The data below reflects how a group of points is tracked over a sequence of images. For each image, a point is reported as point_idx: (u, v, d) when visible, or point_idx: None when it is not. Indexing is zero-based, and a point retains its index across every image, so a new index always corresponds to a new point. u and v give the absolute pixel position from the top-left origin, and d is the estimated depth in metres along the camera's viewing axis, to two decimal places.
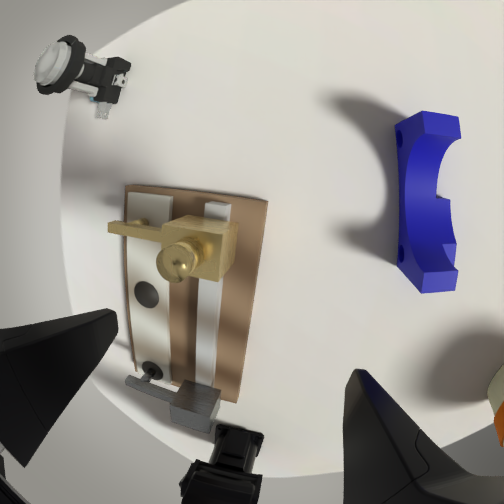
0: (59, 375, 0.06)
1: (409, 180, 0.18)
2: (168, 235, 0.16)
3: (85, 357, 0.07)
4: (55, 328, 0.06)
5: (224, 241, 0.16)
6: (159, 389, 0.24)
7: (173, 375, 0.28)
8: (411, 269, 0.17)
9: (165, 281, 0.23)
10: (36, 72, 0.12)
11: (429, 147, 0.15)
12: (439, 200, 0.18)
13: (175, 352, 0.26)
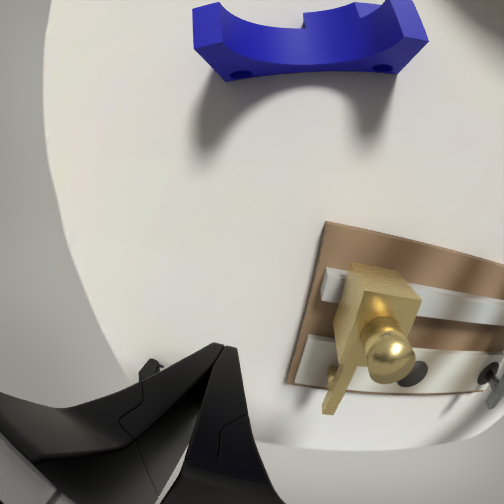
0: (180, 435, 0.06)
1: (291, 59, 0.13)
2: (353, 357, 0.12)
3: None
4: (177, 383, 0.06)
5: (373, 287, 0.11)
6: None
7: (498, 349, 0.16)
8: (400, 54, 0.10)
9: None
10: None
11: (243, 38, 0.12)
12: (307, 24, 0.12)
13: (477, 346, 0.16)
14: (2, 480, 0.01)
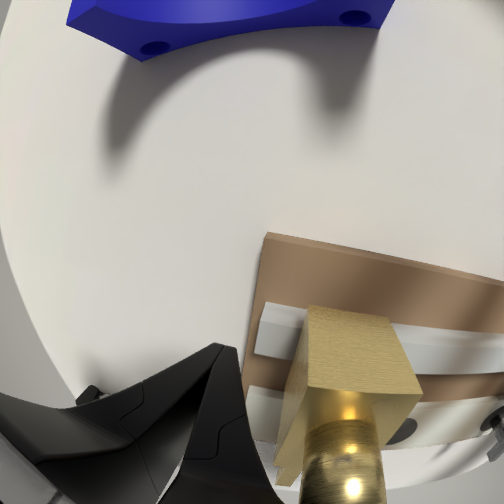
0: (180, 435, 0.06)
1: (216, 16, 0.08)
2: (296, 461, 0.06)
3: None
4: (177, 383, 0.06)
5: (330, 373, 0.06)
6: None
7: None
8: None
9: None
10: None
11: None
12: None
13: (485, 391, 0.11)
14: (3, 481, 0.01)
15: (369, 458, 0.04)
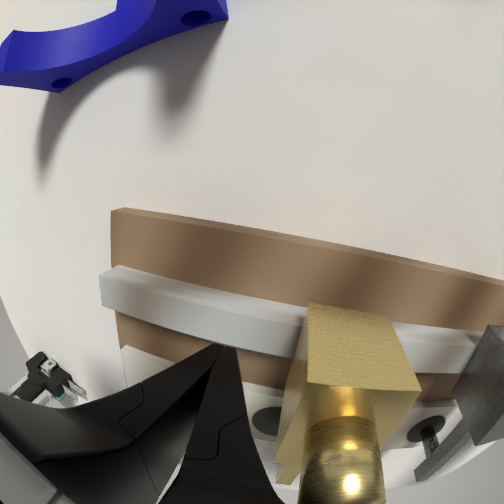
0: (180, 435, 0.06)
1: (91, 51, 0.09)
2: (296, 458, 0.06)
3: None
4: (177, 383, 0.06)
5: (330, 369, 0.06)
6: (451, 438, 0.08)
7: (444, 397, 0.11)
8: None
9: (248, 391, 0.12)
10: None
11: (42, 51, 0.08)
12: (118, 5, 0.08)
13: None
14: (3, 481, 0.01)
15: (368, 454, 0.04)
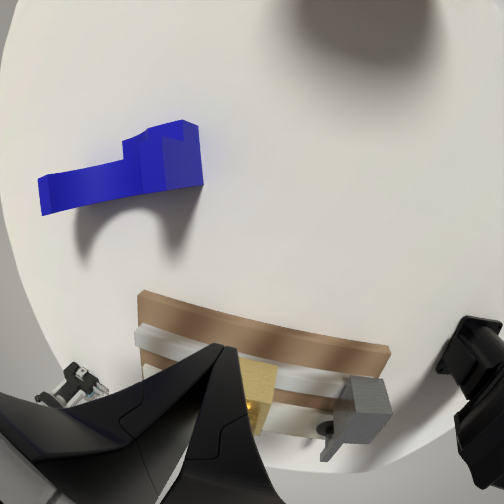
0: (179, 435, 0.06)
1: (112, 194, 0.19)
2: None
3: None
4: (176, 383, 0.06)
5: None
6: None
7: None
8: None
9: None
10: None
11: (74, 190, 0.17)
12: (124, 154, 0.18)
13: (305, 403, 0.22)
14: (2, 480, 0.01)
15: None
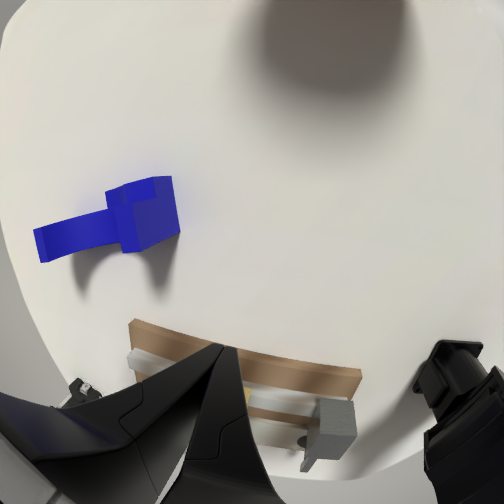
0: (180, 435, 0.06)
1: (101, 241, 0.21)
2: None
3: None
4: (177, 383, 0.06)
5: None
6: None
7: None
8: None
9: None
10: None
11: (67, 238, 0.19)
12: (108, 204, 0.20)
13: (284, 419, 0.23)
14: (2, 480, 0.01)
15: None
